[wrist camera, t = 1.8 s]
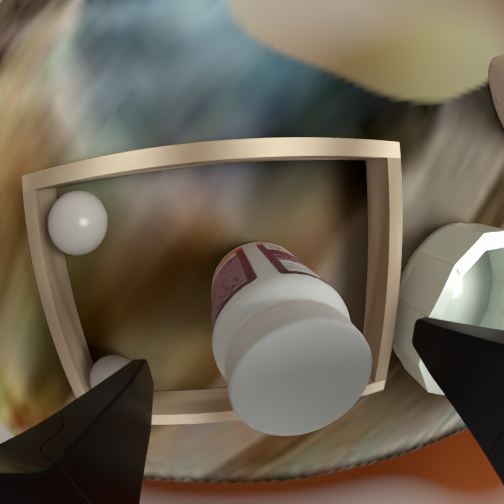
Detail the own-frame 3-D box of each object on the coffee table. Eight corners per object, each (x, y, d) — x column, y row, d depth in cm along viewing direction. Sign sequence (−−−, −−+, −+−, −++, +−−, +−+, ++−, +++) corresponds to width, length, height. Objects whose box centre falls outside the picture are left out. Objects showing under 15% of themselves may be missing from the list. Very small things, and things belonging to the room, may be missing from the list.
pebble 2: (139, 344, 15) (127, 374, 12) (151, 386, 16) (143, 419, 13) (93, 345, 15) (74, 373, 12) (107, 386, 15) (93, 416, 12)
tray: (376, 146, 14) (399, 142, 12) (368, 371, 17) (383, 389, 15) (44, 176, 12) (21, 175, 10) (97, 399, 15) (87, 420, 13)
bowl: (497, 219, 17) (533, 227, 13) (477, 346, 19) (504, 365, 15) (394, 226, 15) (436, 238, 12) (378, 384, 18) (404, 416, 14)
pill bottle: (228, 338, 16) (244, 460, 7) (198, 256, 14) (182, 342, 6) (311, 311, 16) (387, 409, 8) (290, 228, 15) (378, 276, 7)
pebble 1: (112, 185, 13) (89, 185, 10) (119, 245, 14) (98, 259, 11) (63, 194, 13) (33, 197, 10) (70, 250, 13) (42, 265, 11)
